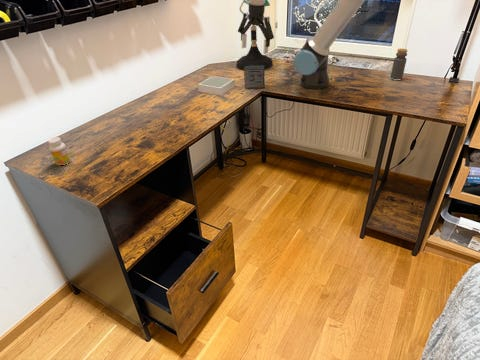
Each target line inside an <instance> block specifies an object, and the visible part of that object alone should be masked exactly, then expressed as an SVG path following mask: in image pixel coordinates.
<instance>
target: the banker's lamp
mask: <svg viewBox="0 0 480 360" xmlns="http://www.w3.org/2000/svg"><path fill="white" fill-rule="evenodd" d="M244 4H246V5H248V6H249V4H250V3H249V0H242V2H241V4H240V6H239V11H240V13H241V14H242V15H243V14H244V13H245V12H244V11H243V10H242V7H243V5H244ZM264 5H265V7H270V6H271V3H270V2H269V1H268V0H265V3H264ZM247 21H249V17H248V19H247ZM257 36H258V35H257V26H256V25H251V26H250V42H251V43H250V47H249V50H248V53H247V54H246V55H244V56H241V57H240V58H239V59H238V60H236V63H235V67H236V69H238V70H241V71H244V67H245V66H262V65H264V71H266V70H268V68H269V69H270V68H271V67H273V66H274V62H273V59H272V57H269V56H268V55H266V54H262V53H261V52H260V49H259V47H258V44H257V41H258V39H257Z"/></svg>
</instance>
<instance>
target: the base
mask: <svg viewBox="0 0 480 360" xmlns="http://www.w3.org/2000/svg"><path fill="white" fill-rule="evenodd" d="M197 86H198V92H199V93H204V94H209V95H215V96H223V95H225V94H226V93H227V92H229V91H231V90H232V89H233V88H235V87H236V81H235V78H229V77H224V76H223V77H221V76H216V75H215V76H214V75H212V76H211V77H209V78H207V79H205V80H203V81H202V82H200V83H198V84H197Z"/></svg>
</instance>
